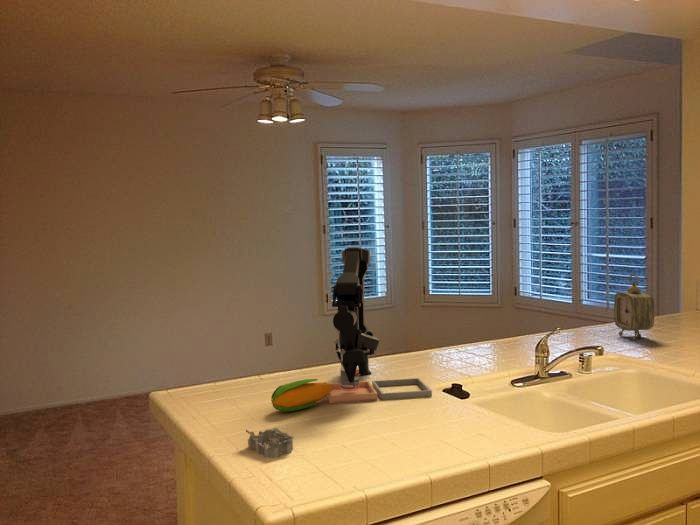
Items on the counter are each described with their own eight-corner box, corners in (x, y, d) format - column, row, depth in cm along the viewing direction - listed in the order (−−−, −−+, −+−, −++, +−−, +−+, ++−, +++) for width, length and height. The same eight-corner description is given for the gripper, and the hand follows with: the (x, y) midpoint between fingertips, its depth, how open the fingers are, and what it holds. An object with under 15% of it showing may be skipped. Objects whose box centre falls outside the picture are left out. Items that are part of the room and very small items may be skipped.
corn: (264, 383, 170) (323, 369, 183) (263, 411, 171) (322, 395, 184) (280, 390, 164) (340, 375, 178) (280, 419, 165) (340, 402, 179)
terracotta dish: (324, 390, 190) (324, 383, 190) (368, 387, 192) (368, 381, 192) (329, 403, 177) (329, 396, 177) (377, 400, 179) (377, 393, 179)
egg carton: (244, 447, 146) (243, 429, 146) (273, 440, 151) (272, 422, 150) (267, 461, 138) (266, 441, 137) (297, 452, 142) (297, 434, 142)
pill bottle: (357, 392, 182) (356, 361, 181) (338, 391, 183) (338, 360, 182) (360, 386, 187) (360, 356, 186) (342, 385, 188) (342, 355, 187)
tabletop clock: (613, 334, 262) (614, 273, 261) (635, 334, 263) (635, 272, 262) (633, 341, 248) (634, 276, 246) (655, 340, 249) (656, 275, 247)
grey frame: (372, 386, 194) (372, 380, 194) (418, 383, 196) (418, 377, 196) (381, 399, 180) (381, 393, 180) (431, 396, 182) (431, 390, 182)
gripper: (383, 329, 175) (384, 386, 176) (370, 318, 193) (371, 370, 195) (342, 331, 173) (343, 389, 175) (333, 320, 192) (334, 372, 193)
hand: (349, 379), depth 184 cm, fingers closed on pill bottle, 5 cm apart
